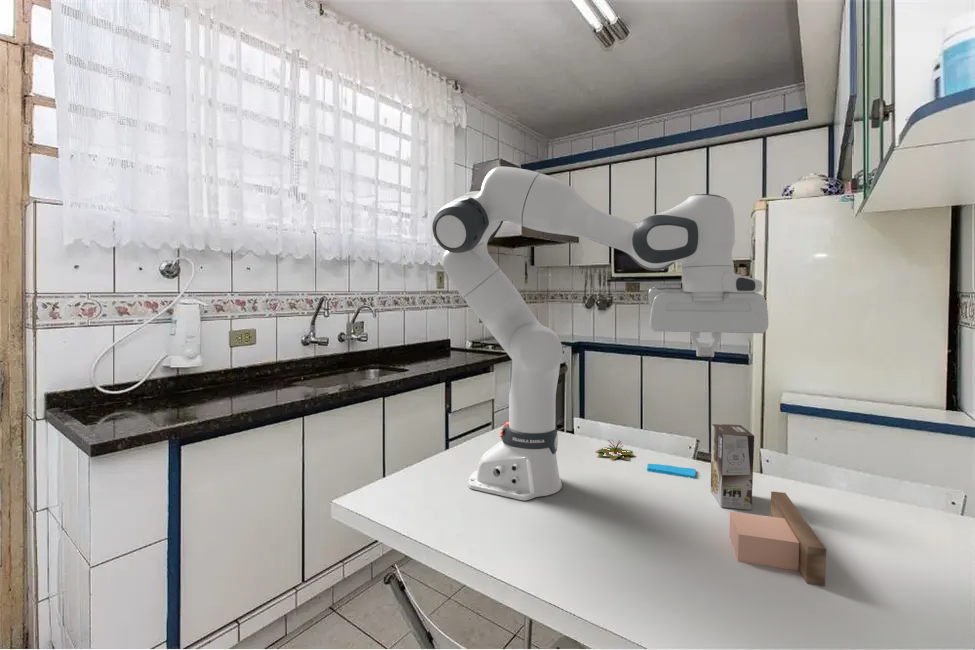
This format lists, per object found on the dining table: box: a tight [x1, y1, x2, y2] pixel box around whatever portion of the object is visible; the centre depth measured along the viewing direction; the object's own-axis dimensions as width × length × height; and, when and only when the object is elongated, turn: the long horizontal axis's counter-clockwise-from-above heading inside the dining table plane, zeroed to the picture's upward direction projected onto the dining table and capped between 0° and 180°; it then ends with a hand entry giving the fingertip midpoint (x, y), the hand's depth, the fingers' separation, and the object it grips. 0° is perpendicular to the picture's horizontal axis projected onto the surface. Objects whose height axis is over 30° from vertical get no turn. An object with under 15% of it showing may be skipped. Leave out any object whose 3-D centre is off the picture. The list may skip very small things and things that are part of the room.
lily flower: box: [595, 439, 636, 462], centre depth 136 cm, size 12×12×5 cm
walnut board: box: [769, 490, 827, 587], centre depth 85 cm, size 2×22×6 cm, turn 162°
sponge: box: [646, 463, 697, 479], centre depth 123 cm, size 2×12×6 cm
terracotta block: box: [728, 511, 799, 571], centre depth 84 cm, size 9×9×5 cm
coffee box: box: [710, 423, 755, 511], centre depth 105 cm, size 9×6×16 cm
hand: (705, 356), depth 90 cm, fingers closed
